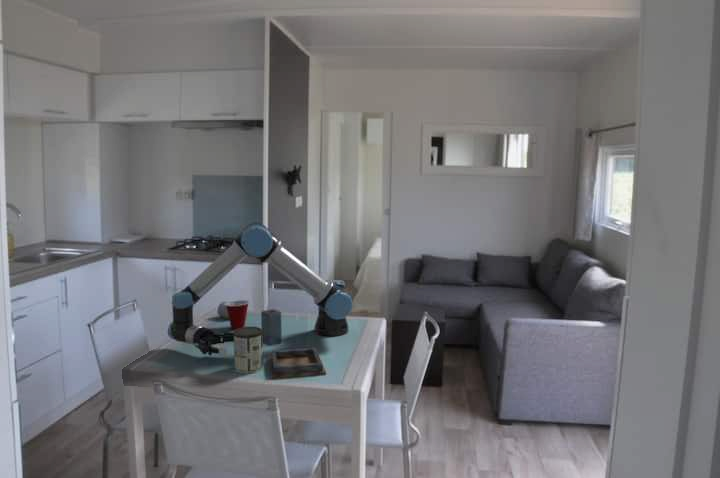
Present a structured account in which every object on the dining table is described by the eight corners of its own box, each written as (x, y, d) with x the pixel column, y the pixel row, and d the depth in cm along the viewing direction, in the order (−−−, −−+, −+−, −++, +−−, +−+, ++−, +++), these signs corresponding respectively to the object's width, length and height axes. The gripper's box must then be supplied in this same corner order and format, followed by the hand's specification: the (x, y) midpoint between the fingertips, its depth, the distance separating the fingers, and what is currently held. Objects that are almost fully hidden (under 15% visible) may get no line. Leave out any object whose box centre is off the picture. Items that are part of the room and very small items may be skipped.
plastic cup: (238, 322, 246) (238, 297, 244) (254, 327, 240) (254, 301, 238) (220, 328, 237) (219, 302, 235) (236, 333, 231) (235, 306, 229)
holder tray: (317, 355, 204) (317, 347, 204) (325, 374, 186) (325, 364, 185) (268, 359, 200) (268, 350, 199) (271, 378, 182) (271, 369, 181)
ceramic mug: (229, 321, 248) (228, 305, 247) (217, 318, 253) (217, 302, 252) (245, 316, 257) (245, 301, 256) (233, 313, 261) (233, 298, 260)
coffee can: (243, 361, 197) (243, 325, 196) (268, 365, 194) (267, 328, 192) (228, 371, 188) (227, 333, 186) (253, 375, 184) (253, 336, 183)
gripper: (224, 337, 214) (263, 347, 202) (173, 355, 193) (214, 367, 181) (224, 319, 213) (263, 328, 201) (172, 335, 192) (213, 346, 180)
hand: (240, 347), depth 191 cm, fingers open, 13 cm apart
